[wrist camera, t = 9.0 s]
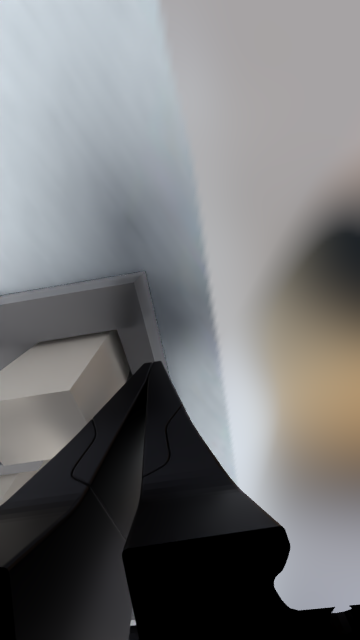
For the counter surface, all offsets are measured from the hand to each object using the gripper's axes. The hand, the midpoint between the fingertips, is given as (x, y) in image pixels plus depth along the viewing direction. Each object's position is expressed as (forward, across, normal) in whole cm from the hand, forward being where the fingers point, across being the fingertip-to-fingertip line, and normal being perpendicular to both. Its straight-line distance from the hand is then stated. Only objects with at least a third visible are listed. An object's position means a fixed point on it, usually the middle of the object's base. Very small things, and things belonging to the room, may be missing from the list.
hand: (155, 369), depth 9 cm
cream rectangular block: (+3, +4, 0) cm, 5 cm away
